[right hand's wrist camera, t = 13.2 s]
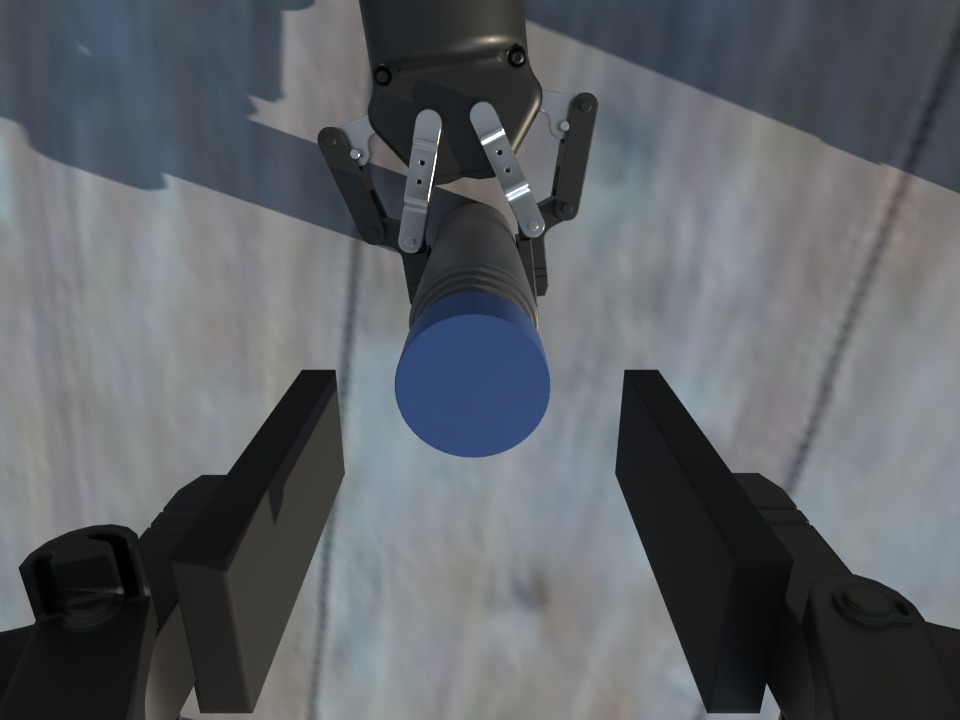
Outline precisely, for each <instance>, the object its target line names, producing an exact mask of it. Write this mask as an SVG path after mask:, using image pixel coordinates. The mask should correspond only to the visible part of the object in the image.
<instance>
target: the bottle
mask: <svg viewBox="0 0 960 720" xmlns="http://www.w3.org/2000/svg"><path fill="white" fill-rule="evenodd" d="M464 292H483V293H488V294H493V295H496V296H499V297H502V298H504V299H506V300H508V301H510V302H511V303H513V304H514V305H516V306H517V307H519V308H520V309H521V310H522V311H523V312H524V313H525V314H526V315H527V316H528V317H529V318H530V320H531V321H532V323H533V324H534V326H535V327H536V329H537V332H538V330H539V317H538V311H537V307H536V304H535V301H534V298H533V295H532V292H531V289H530V286H529V283H528V280H527V277H526V274H525V271H524V267H523V264H522V261H521V258H520V255H519V252H518V249H517V246H516V243H515V240H514V237H513V234H512V231H511V228H510V226H509V223H508V222H507V220H506V218H505V217H504V216H503V215H502V214H501V213H500V212H499V211H498V210H496V209H495V208H493V207H491V206H489V205H486V204H481V203H469V204H464V205H462V206H459V207H457V208H456V209H454V210H453V211H451V212H450V213H449V214H448V215H447V216H446V218H445V219H444V221H443V222H442V224H441V226H440V229H439V232H438V235H437V237H436V240H435V243H434V246H433V248H432V251H431V254H430V257H429V259H428V262H427V265H426V268H425V270H424V273H423V276H422V279H421V281H420V284H419V287H418V290H417V293H416V295H415V298H414V301H413V304H412V307H411V311H410V317H409V329H411V327H412V326H413V324H414V323H415V321H416V320H417V318H418V317H419V316H420V315H421V314H422V313H423V312H424V311H425V310H426V309H427V308H428V307H429V306H431V305H432V304H434V303H435V302H437V301H439V300H441V299H443V298H445V297H448V296H451V295H454V294H459V293H464Z"/></svg>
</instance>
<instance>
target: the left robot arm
mask: <svg viewBox="0 0 960 720" xmlns="http://www.w3.org/2000/svg"><path fill="white" fill-rule="evenodd" d="M359 4H360V9H361V15H362V21H363V27H364V33H365V38H366V44H367V50H368V56H369V62H370V68H371V73H372V80H373V90H372V96H371V100H370V103H369V106H368V114H366V115H364V116H362V117H360V118H358V119H355V120H353V121H351V122H349V123H346V124H344V125H342V126H340V127H326V128H324V129H322V130H321V131H320V132H319V134H318V144H319V147H320V149H321V151H322V153H323V155H324V157H325V159H326V161H327V164H328V166H329V168H330V170H331V172H332V174H333V176H334V178H335V181H336V183H337V185H338V187H339V189H340V191H341V193H342V195H343V198H344V200H345V202H346V204H347V206H348V208H349V210H350V212H351V215H352V217H353V219H354V221H355V223H356V225H357V227H358V229H359V232H360V234H361V236H362V238H363V240H364V241H365V242H366V243H368V244H371V245H377V244H380V245H385V246H389V247H393V248H395V249H396V250H397V251H399V253H400V254H401V256H402V259H403V264H404V270H405V276H406V282H407V288H408V293H409V299H410V303H411V305H412V304H413V301H414V298H415V295H416V293H417V290H418V287H419V284H420V281H421V279H422V276H423V273H424V270H425V268H426V265H427V262H428V259H429V257H430V254H431V245H426V239H425V235H426V230H427V224H428V218H429V212H430V207H431V202H432V198H433V192H434V187H435V185H440V184H447V183H451V182H453V181H455V180H458V179H460V178H462V177H469V178H476V179H485V178H493V177H496V176H497V178H498V180H499V182H500V185H501V187H502V189H503V191H504V193H505V195H506V198H507V200H508V202H509V204H510V206H511V208H512V210H513V213H514V215H515V217H516V219H517V221H518V231H519V234H515V238H516V246H517V249H518V252H519V255H520V258H521V261H522V264H523V267H524V271H525V274H526V277H527V280H528V283H529V286H530V289H531V292H532V295H533V298H534V301H535V304H536V307H537V296H544V295H546V292H547V288H548V277H547V266H546V255H545V244H544V238H545V235H546V233H547V231H548V230H549V229H550V228H551V227H553V226H555V225H557V224H558V223H560V222H562V221H564V220H565V221H568V220H572V219H573V218H575V217H576V216H577V214H578V212H579V207H580V202H581V196H582V191H583V185H584V180H585V175H586V169H587V164H588V158H589V153H590V148H591V142H592V137H593V131H594V126H595V121H596V115H597V110H598V102H597V99H596V97H595V96H594V95H592V94H590V93H579V94H576V95H573V94H567V93H560V92H553V91H546V90H542V88H541V85H540V83H539V81H538V80H537V78H536V77H535V75H534V73H533V71H532V69H531V66H530V63H529V58H528V48H527V37H526V26H525V15H524V4H523V0H359ZM539 111H541V112H543V113H544V114H545V115H546V116H547V118H548V121H549V131H550V133H551V134H552V135H553V136H554V137H556V138H559V139H560V144H559V150H558V156H557V162H556V168H555V174H554V180H553V186H552V192H551V197H549V198H547V199H545V200H543V201H541V202H539V203H537V204H536V202H535V200H534V197H533V195H532V193H531V191H530V188H529V186H528V183H527V181H526V179H525V177H524V174H523V172H522V170H521V168H520V165H519V163H518V161H517V159H516V157H515V154H516V152H517V151H518V149H519V147H520V145H521V143H522V141H523V139H524V138H525V136H526V134H527V132H528V130H529V128H530V126H531V125H532V123H533V121H534V119H535V117H536V115H537V113H538V112H539ZM375 134H377V135H378V136H379V137H380V138H381V139H382V140H383V141H384V142H385V143H386V144H387V145H388V146H389V147H390V149H391V150H392V151H393V152H394V153H395V154H396V155H397V156H398V157H399V158H400V159H401V160H402V161H403V162H404V163H405V164H406V166H407V167H408V168H409V170H408V176H407V182H406V189H405V195H404V206H403V213H402V219H401V221H400V220H396V219H391V218H388V216H387V214H386V212H385V209H384V207H383V205H382V203H381V200H380V198H379V196H378V194H377V192H376V189H375V187H374V185H373V183H372V180H371V178H370V176H369V174H368V172H367V169H366V167H365V164H367V163H368V162H369V161H370V160H371V158H372V149H371V139H372V137H373V136H374V135H375Z"/></svg>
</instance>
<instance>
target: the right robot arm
mask: <svg viewBox="0 0 960 720" xmlns="http://www.w3.org/2000/svg"><path fill="white" fill-rule="evenodd" d="M344 474H345V470H344V459H343V448H342V437H341V426H340V415H339V404H338V393H337V381H336V370H302V371H301V372H300V374H299V375H298V376H297V378H296V379H295V381H294V382H293V383H292V385H291V386H290V388H289V389H288V390H287V392H286V393H285V395H284V396H283V397H282V399H281V400H280V402H279V403H278V404H277V406H276V407H275V409H274V410H273V411H272V413H271V414H270V416H269V417H268V418H267V420H266V421H265V422H264V424H263V425H262V427H261V428H260V429H259V431H258V432H257V434H256V435H255V436H254V438H253V439H252V441H251V442H250V443H249V445H248V446H247V448H246V449H245V450H244V452H243V453H242V455H241V456H240V457H239V459H238V460H237V462H236V463H235V464H234V466H233V467H232V469H231V470H230V471H229V473H228V474H227V475H201V476H200V477H198V478H197V479H195V480H194V481H192V482H191V483H189V484H188V485H186V486H184V487H183V488H181V489H180V490H178V491H177V493H176V494H175V495H174V496H173V498H172V499H171V500H170V501H169V502H168V504H167V505H166V506H165V507H164V510H163V512H160V513H159V515H158V516H157V517H156V518H155V520H154V521H153V522H152V523H151V528H147V529H146V531H145V532H144V533H143V534H142V535H141V537H140V538H139V539H138V535H137V534H136V533H135V532H134V531H132V530H131V529H130V528H128V527H124V526H119V525H113V524H109V525H97V526H89V527H86V528H82V529H78V530H75V531H71V532H68V533H66V534H64V535H61V536H59V537H57V538H55V539H52V540H50V541H48V542H46V543H45V544H44V545H42V546H41V547H39V548H38V549H36V550H35V551H34V552H32V553H31V554H29V556H28V557H27V558H26V559H25V560H24V562H23V563H22V564H21V565H20V567H19V571H20V574H21V577H22V580H23V583H24V586H25V589H26V592H27V595H28V598H29V601H30V604H31V607H32V610H33V613H34V616H35V619H36V621H35V624H33V625H29V626H26V627H22V628H17V629H13V630H8V631H4V632H0V720H182V719H181V715H180V711H181V709H182V707H183V705H184V703H185V701H186V699H187V698H188V696H189V694H190V692H191V690H192V688H193V686H194V687H195V691H196V696H197V700H198V705H199V709H200V713H253V711H254V708H255V706H256V703H257V700H258V698H259V695H260V693H261V690H262V687H263V685H264V682H265V680H266V677H267V674H268V672H269V669H270V667H271V664H272V661H273V659H274V656H275V654H276V651H277V648H278V646H279V643H280V641H281V638H282V635H283V633H284V630H285V628H286V625H287V622H288V620H289V617H290V615H291V612H292V609H293V607H294V604H295V602H296V599H297V596H298V594H299V591H300V589H301V586H302V583H303V581H304V578H305V576H306V573H307V570H308V568H309V565H310V563H311V560H312V557H313V555H314V552H315V550H316V547H317V544H318V542H319V539H320V537H321V534H322V531H323V529H324V526H325V524H326V521H327V518H328V516H329V513H330V511H331V508H332V505H333V503H334V500H335V498H336V495H337V492H338V490H339V487H340V485H341V482H342V479H343V477H344ZM615 474H616V477H617V479H618V482H619V485H620V487H621V490H622V492H623V495H624V498H625V500H626V503H627V505H628V508H629V511H630V513H631V516H632V518H633V521H634V524H635V526H636V529H637V531H638V534H639V537H640V539H641V542H642V544H643V547H644V550H645V552H646V555H647V557H648V560H649V563H650V565H651V568H652V570H653V573H654V576H655V578H656V581H657V583H658V586H659V589H660V591H661V594H662V596H663V599H664V602H665V604H666V607H667V609H668V612H669V615H670V617H671V620H672V622H673V625H674V628H675V630H676V633H677V635H678V638H679V641H680V643H681V646H682V648H683V651H684V654H685V656H686V659H687V661H688V664H689V667H690V669H691V672H692V674H693V677H694V680H695V682H696V685H697V687H698V690H699V693H700V695H701V698H702V700H703V703H704V706H705V708H706V711H707V713H760V709H761V705H762V700H763V696H764V691H765V687H766V683H767V685H768V687H769V688H770V690H771V692H772V694H773V696H774V698H775V700H776V702H777V704H778V706H779V708H780V710H781V711H780V715H779V719H778V720H960V630H959V629H955V628H950V627H946V626H941V625H937V624H933V623H930V622H926V621H925V620H924V618H923V617H922V616H921V614H920V613H919V611H918V610H917V609H916V607H915V606H914V605H913V604H912V603H911V602H910V601H908V600H907V599H906V598H905V597H903V596H902V595H901V594H900V593H898V592H897V591H895V590H893V589H891V588H889V587H887V586H885V585H883V584H881V583H879V582H877V581H875V580H871V579H868V578H865V577H862V576H858V575H854V574H852V573H851V571H850V570H849V569H848V568H847V567H846V565H845V564H844V563H843V562H842V561H841V559H840V558H839V557H838V556H837V554H836V553H835V552H834V551H833V550H832V548H831V547H830V546H829V545H828V544H827V542H826V541H825V540H824V539H823V537H822V536H821V535H820V534H819V533H818V531H817V530H816V529H815V528H814V527H813V525H810V524H809V521H808V519H807V518H806V517H805V516H804V514H803V513H802V512H801V511H800V510H797V506H796V505H795V504H794V502H793V501H792V500H791V499H790V497H789V496H788V495H787V494H786V493H785V491H784V490H783V489H782V488H781V487H779V486H777V485H776V484H774V483H773V482H771V481H770V480H768V479H767V478H765V477H764V476H762V475H760V474H759V473H731V471H730V470H729V469H728V467H727V466H726V464H725V463H724V462H723V460H722V459H721V457H720V456H719V455H718V453H717V452H716V450H715V449H714V448H713V446H712V445H711V443H710V442H709V441H708V439H707V438H706V436H705V435H704V434H703V432H702V431H701V429H700V428H699V427H698V425H697V424H696V422H695V421H694V420H693V418H692V417H691V416H690V414H689V413H688V411H687V410H686V409H685V407H684V406H683V404H682V403H681V402H680V400H679V399H678V397H677V396H676V395H675V393H674V392H673V390H672V389H671V388H670V386H669V385H668V383H667V382H666V381H665V379H664V378H663V376H662V375H661V374H660V372H659V371H658V370H624V381H623V393H622V404H621V415H620V426H619V437H618V448H617V459H616V470H615Z"/></svg>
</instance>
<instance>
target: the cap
mask: <svg viewBox="0 0 960 720" xmlns="http://www.w3.org/2000/svg"><path fill="white" fill-rule="evenodd" d="M395 394H396V400H397V403H398V407H399V410H400V412H401V414H402V416H403V418H404V420H405V421H406V423H407V425H408V426H409V427H410V428H411V430H412V431H413V432H414V433H415V434H416V435H417V436H418V437H419V438H420V439H422V440H423V441H424V442H426V443H427V444H428V445H430V446H432V447H434V448H435V449H438V450H440V451H442V452H445V453H448V454H451V455H455V456H461V457H472V458H475V457H486V456H492V455H495V454H499V453H502V452H504V451H507V450H509V449H511V448H513V447H515V446H516V445H518V444H520V443H521V442H522V441H524V440H525V439H526V438H527V437H528V436H529V435H530V434H531V433H532V432H533V431H534V430H535V429H536V428H537V426H538V425H539V424H540V422H541V420H542V419H543V417H544V415H545V413H546V410H547V408H548V405H549V401H550V397H551V375H550V369H549V366H548V363H547V359H546V356H545V353H544V349H543V346H542V343H541V339H540V336H539V334H538V332H537V329H536V327H535V326H534V324H533V323H532V321H531V320H530V318H529V317H528V316H527V315H526V314H525V313H524V312H523V311H522V310H521V309H520V308H519V307H517V306H516V305H514V304H513V303H511V302H510V301H508V300H506V299H504V298H502V297H499V296H496V295H493V294H488V293H483V292H464V293H459V294H454V295H451V296H448V297H445V298H443V299H441V300H439V301H437V302H435V303H434V304H432V305H431V306H429V307H428V308H427V309H426V310H425V311H424V312H423V313H422V314H421V315H420V316H419V317H418V318H417V320H416V321H415V323H414V324H413V326H412V327H411V329H410V332H409V334H408V336H407V339H406V342H405V345H404V348H403V351H402V354H401V358H400V361H399V364H398V367H397V370H396V377H395Z"/></svg>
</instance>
